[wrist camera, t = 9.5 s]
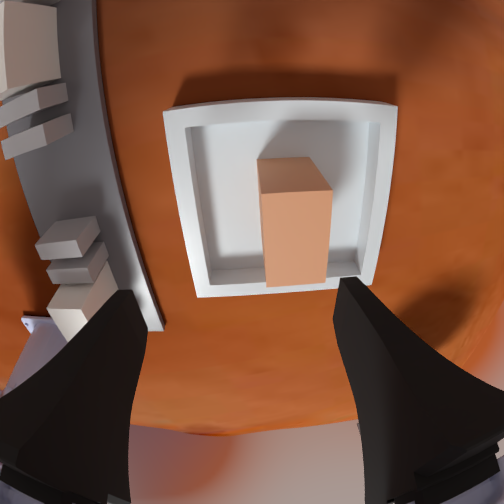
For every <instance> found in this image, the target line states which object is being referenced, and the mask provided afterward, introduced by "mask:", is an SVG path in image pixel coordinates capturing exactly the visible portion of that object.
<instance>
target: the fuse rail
mask: <svg viewBox="0 0 504 504" xmlns="http://www.w3.org/2000/svg"><path fill="white" fill-rule="evenodd" d="M3 1H13V2H23V3H31V4H38V5H44V6H50V7H56V8H57V38H58V52H59V63H60V72H61V78H60V79H57V80H55V81H53V82H50V83H48V84H46V85H43V86H41V87H39V88H37V89H34V90H32V91H30V92H28V93H26V94H22V95H18V96H15V97H11V98H8V99H5V100H2V102H3V106H1V107H0V128H1V127H4V126H7V131H8V135H9V138H7V139H5V140H3V141H1V144H2V149H3V153H4V157H5V160H7V159H10V158H12V157H14V160H15V164H16V168H17V171H18V175H19V178H20V182H21V185H22V188H23V191H24V194H25V197H26V200H27V203H28V206H29V209H30V212H31V215H32V217H33V220H34V223H35V225H36V228H37V230H38V233H39V235H40V239H39V240H38V241H37V243H36V244H35V247H36V249H37V251H38V254H39V256H40V258H41V260H50V261H51V264H50V265H49V267H48V268H47V269H46V271H47V273H48V275H49V277H50V279H51V281H52V283H53V284H74V283H94V281H95V280H96V278H97V276H98V274H99V272H100V271H101V269H102V267H103V265H104V264H105V262H106V261H108V264H109V266H110V269H111V272H112V274H113V277H114V279H115V282H116V284H117V287H118V289H119V290H125V289H132V290H133V292H134V295H135V297H136V300H137V302H138V305H139V307H140V310H141V312H142V315H143V317H144V320H145V322H146V324H147V327H148V331H164V329H165V324H164V322H163V319H162V316H161V314H160V311H159V308H158V305H157V303H156V300H155V297H154V294H153V291H152V288H151V285H150V282H149V279H148V276H147V273H146V270H145V267H144V264H143V261H142V258H141V255H140V251H139V248H138V245H137V241H136V238H135V234H134V231H133V227H132V224H131V220H130V217H129V213H128V209H127V205H126V201H125V197H124V193H123V189H122V185H121V181H120V177H119V172H118V168H117V163H116V159H115V154H114V149H113V144H112V139H111V133H110V128H109V122H108V116H107V110H106V104H105V97H104V90H103V83H102V75H101V66H100V56H99V45H98V32H97V12H96V0H0V4H1V3H2V2H3Z"/></svg>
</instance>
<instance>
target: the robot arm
mask: <svg viewBox="0 0 504 504" xmlns="http://www.w3.org/2000/svg"><path fill="white" fill-rule="evenodd" d="M21 320H22V321H23V323H24V324H25V326H26V327H27V329H28V330H29V332H30V333H31V335H30V337H29V339H28V341H27V343H26V345H25V347H24V349H23V351H22V353H21V355H20V357H19V359H18V361H17V363H16V365H15V367H14V370H13V372H12V374H11V376H10V378H9V381H8V383H7V385H6V387H5V389H4V390H3V391H2V390H0V504H107V503H108V504H130V503H131V498H130V489H129V476H128V442H129V427H130V417H131V410H132V404H133V400H134V395H135V391H136V387H137V383H138V379H139V375H140V371H141V367H142V363H143V359H144V355H145V349H146V342H147V334H148V327H147V324H146V322H145V320H144V317H143V315H142V312H141V310H140V307H139V305H138V302H137V300H136V297H135V295H134V292H133V290H132V289H125V290H117V291H116V292H115V293H114V294H113V295H112V296H111V297H110V298H109V299H108V300H107V301H106V302H105V303H104V304H103V305H102V306H101V308H100V309H99V310H98V311H97V312H96V313H95V314H94V315H93V316H92V317H91V319H90V320H89V321H88V322H87V323H86V324H85V325H84V326H83V327H82V329H81V330H80V331H79V332H78V333H77V334H76V335H75V336H74V337H73V338H72V339H71V340H70V341H69V342H67V340H66V339H65V337H64V336H63V334H62V333H61V331H60V330H59V328H58V327H57V325H56V323H55V322H54V320H53V319H52V317H37V316H22V318H21ZM333 323H334V329H335V334H336V339H337V344H338V347H339V350H340V354H341V357H342V360H343V363H344V366H345V369H346V373H347V376H348V379H349V382H350V385H351V389H352V392H353V395H354V399H355V403H356V408H357V414H358V420H359V426H360V433H361V441H362V450H363V461H364V478H365V504H393V503H395V504H504V455H503V456H502V457H500V458H498V459H496V455H495V453H497V452H498V451H499V447H498V444H497V442H498V441H500V440H501V439H503V438H504V391H502V390H500V389H498V388H496V387H493V386H491V385H489V384H487V383H485V382H484V381H482V380H480V379H478V378H476V377H474V376H473V375H471V374H469V373H468V372H466V371H464V370H463V369H461V368H460V367H458V366H457V365H455V364H454V363H452V362H451V361H449V360H448V359H446V358H445V357H444V356H442V355H441V354H439V353H438V352H437V351H436V350H434V349H433V348H432V347H430V346H429V345H428V344H427V343H425V342H424V341H423V340H422V339H420V338H419V337H418V336H417V335H416V334H415V333H414V332H412V331H411V330H410V329H409V328H408V327H407V326H406V325H405V324H404V323H403V322H402V321H400V320H399V319H398V318H397V317H396V316H395V315H394V314H393V313H392V312H391V311H390V310H389V309H388V308H387V307H386V306H385V305H384V304H383V303H382V302H381V301H380V300H379V299H378V298H377V297H376V296H375V295H374V294H373V293H372V292H371V290H370V289H369V288H368V287H367V286H366V285H365V284H364V283H363V282H362V281H361V280H360V279H359V278H358V277H357V276H354V277H343V278H340V281H339V287H338V293H337V298H336V304H335V309H334V315H333Z"/></svg>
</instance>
